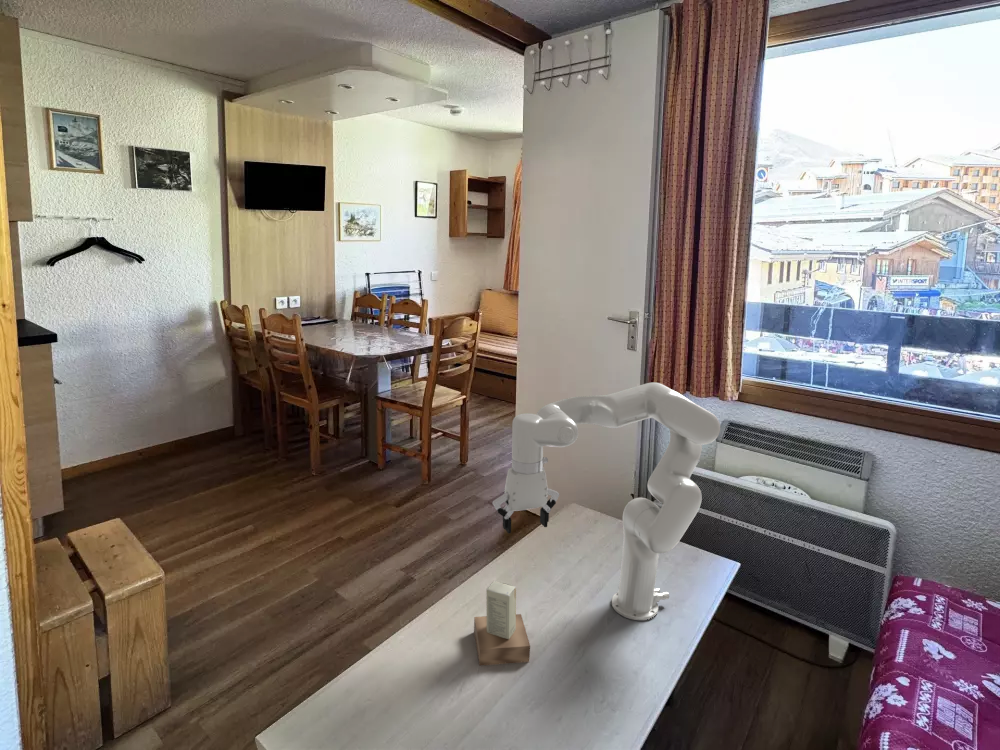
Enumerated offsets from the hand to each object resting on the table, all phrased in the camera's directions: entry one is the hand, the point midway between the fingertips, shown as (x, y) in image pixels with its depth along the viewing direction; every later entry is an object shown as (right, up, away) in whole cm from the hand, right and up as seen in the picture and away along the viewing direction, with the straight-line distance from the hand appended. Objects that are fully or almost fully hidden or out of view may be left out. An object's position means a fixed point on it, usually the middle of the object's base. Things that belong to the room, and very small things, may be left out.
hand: (525, 527), depth 154 cm
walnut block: (-6, -29, -2) cm, 30 cm away
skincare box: (-6, -25, -3) cm, 26 cm away
